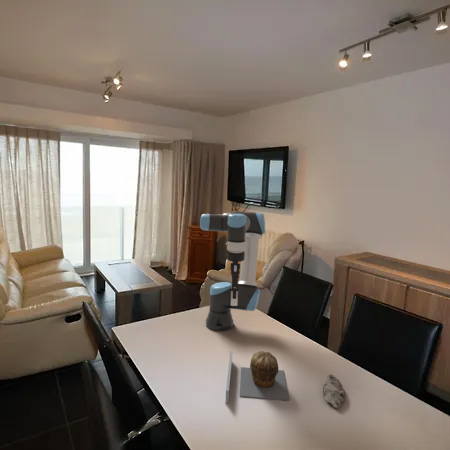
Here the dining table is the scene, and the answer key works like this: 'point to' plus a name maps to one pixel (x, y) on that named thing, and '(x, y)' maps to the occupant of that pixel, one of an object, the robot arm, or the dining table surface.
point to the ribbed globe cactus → (264, 369)
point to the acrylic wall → (228, 378)
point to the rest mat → (255, 391)
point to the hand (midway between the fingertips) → (234, 298)
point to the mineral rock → (333, 391)
